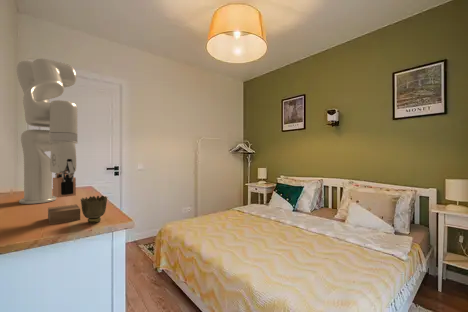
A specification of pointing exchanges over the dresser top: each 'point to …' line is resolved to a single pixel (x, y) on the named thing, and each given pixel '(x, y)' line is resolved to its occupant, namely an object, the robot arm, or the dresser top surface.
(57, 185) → the terracotta block
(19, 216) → the dresser top surface
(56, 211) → the walnut block
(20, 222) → the dresser top surface
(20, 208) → the dresser top surface
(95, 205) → the cup
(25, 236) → the dresser top surface
